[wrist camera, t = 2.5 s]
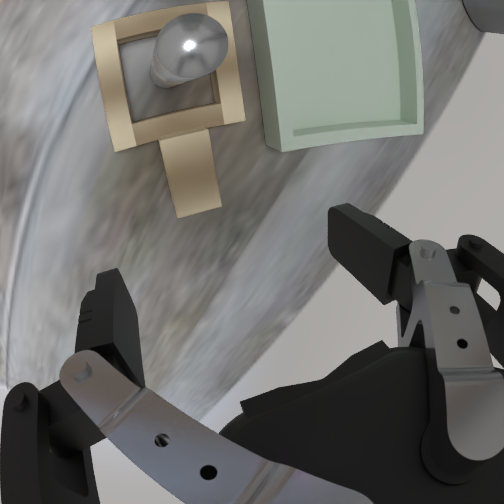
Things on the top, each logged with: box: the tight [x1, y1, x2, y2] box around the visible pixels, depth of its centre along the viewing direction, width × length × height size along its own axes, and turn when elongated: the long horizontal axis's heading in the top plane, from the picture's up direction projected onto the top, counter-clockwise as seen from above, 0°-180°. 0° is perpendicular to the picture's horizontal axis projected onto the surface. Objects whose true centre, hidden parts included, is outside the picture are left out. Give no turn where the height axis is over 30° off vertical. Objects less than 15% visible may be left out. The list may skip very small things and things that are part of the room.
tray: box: [247, 0, 424, 152], centre depth 18 cm, size 15×20×3 cm
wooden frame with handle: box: [91, 1, 246, 218], centre depth 17 cm, size 14×9×4 cm, turn 8°
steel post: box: [150, 13, 229, 88], centre depth 13 cm, size 2×2×12 cm
